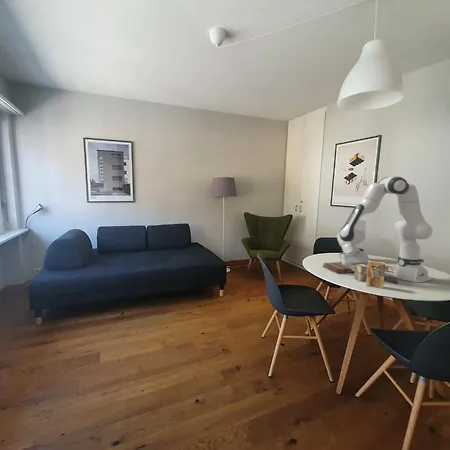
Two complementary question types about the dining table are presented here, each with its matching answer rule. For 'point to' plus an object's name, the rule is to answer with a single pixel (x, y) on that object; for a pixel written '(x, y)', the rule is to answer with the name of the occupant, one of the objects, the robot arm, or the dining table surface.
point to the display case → (361, 226)
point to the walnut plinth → (337, 267)
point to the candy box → (375, 274)
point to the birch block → (360, 272)
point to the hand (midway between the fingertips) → (360, 270)
